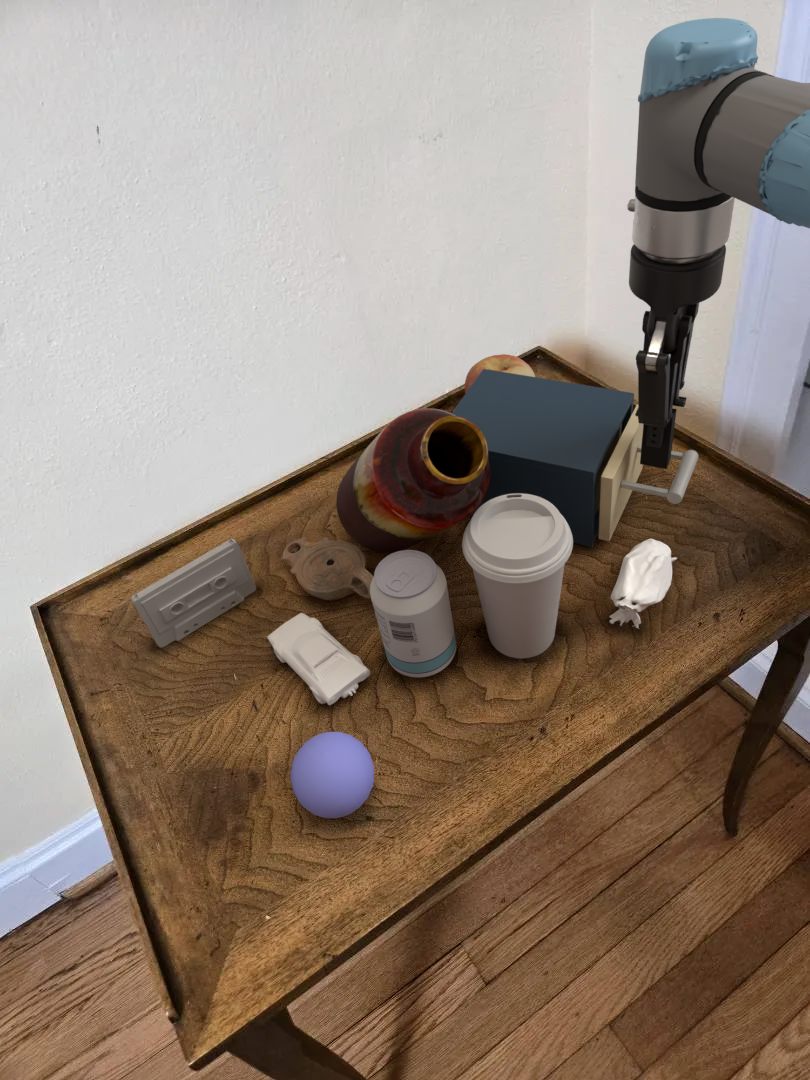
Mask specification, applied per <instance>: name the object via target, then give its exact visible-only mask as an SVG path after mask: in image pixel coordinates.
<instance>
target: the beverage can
mask: <svg viewBox="0 0 810 1080" xmlns="http://www.w3.org/2000/svg"><path fill="white" fill-rule="evenodd" d="M449 595H450V594H449V590H448V582H447V578H446V576H445V572H444V571H443V570H442V568H441V567H440V566H439V565H438V564H437V563H435V561H434V559H433V558H432V557H431V556H430V555H428V554H427V553H425V552H422V551H419V550H416V549H406V550H402V551H398V552H395V553H389V554H388V555H386V556H385V557H384V558H383V559H382V560H380V562H379V563H378V564H377V565H376V567H375V570H374V573H373V579H372V582H371V585H370V596H371V598H370V600H371V603H372V606H373V610H374V614H375V618H376V622H377V625H378V630H379V633H380V637H381V640H382V645H383V648H384V651H385V652H384V653H385V656H386V659H387V662H388V664H389V665H390V667H391V668H392V669H394V670H395V671H396V672H397V673H399V674H401V675H403V676H406V677H410V678H426V677H430V676H431V677H432V676H435V675H436V674H438V673H440V672H442V671H443V670H445V669H446V668H447V667H448V666H449V665H450V664H451V662H452V661H453V659H454V657H455V655H456V651H457V639H456V633H455V626H454V619H453V615H452V607H451V601H450V596H449Z"/></svg>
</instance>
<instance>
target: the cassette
mask: <svg viewBox="0 0 810 1080" xmlns="http://www.w3.org/2000/svg"><path fill="white" fill-rule="evenodd" d="M240 547H241V546H240V544H239V543H238V542H237V541H236V539H235V538H230V539H228V540H226V541H224V542H223V543H221V544H220V545H218V546H215V547H214V548H211V550H209V551H206V553H204V554H202V555H200V556H199V557H197V558H195V559H193V560H192V561H190V562H188V563H187V564H185V565H182V566H181V567H180V568H178V569H176V570H174V571H172V572H171V573H169V574H168V575H166V576H164V577H162V578H161V579H159V580H157V581H155V582H153V583H152V584H150V585H149V586H147V587H145V588H143V589H142V590H140V591H138V592H137V593H135V594H133V595H131V597H130V601H131V602H132V604H133V606H134V608H135V609H136V611H137V613H138V615H139V616H140V618H141V619H142V621H143V623H144V624H145V627H146V628H147V629H148V632H149V633H150V636H151V638H152V639H153V641H154V643H155V644H156V646H157V647H159V648H160V649H162V648H165V647H166V646H168V645H170V644H171V643H173V642H174V641H177V642H179V641H180V640H183V638H185V637H187V636H188V635H191V634H192V633H194V632H195V631H196V630H198V629H200V628H201V627H203V626H205V625H206V624H208V623H210V622H212V621H213V620H214V619H216V618H218V617H219V616H221V615H223V614H225V613H226V612H228V611H229V610H230V609H232V608H235V607H236V606H237V605H239V604H241V603H242V602H244V601H245V598H246V597H249V595H251V594H253V593H254V592H256V591H257V586H256V582H255V581H254V577H253V576H252V574H251V571H250V569H249V566H248V564H247V561H246V559H245V557H244V554H243V552H242V549H241V548H240Z"/></svg>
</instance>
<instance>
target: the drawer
mask: <svg viewBox="0 0 810 1080" xmlns="http://www.w3.org/2000/svg"><path fill="white" fill-rule="evenodd" d="M637 409H638V403H636V405H635V407H634V408H633V413H632V415H631V417H630V419H629V421H628V423H627V425H626V427H625V429H624V431H623V433H622V435H621V427H622V423H621V425H620V427H619V429H618V431H617V433H616V435H615V437H614V439H613V441H612V443H611V445H610V447H609V449H608V451H607V453H606V455H605V457H604V459H603V461H602V463H601V465H600V467H599V469H598V471H597V473H596V498H595V515H596V513H597V511H598V509H599V507H600V514H599V533H598V540H601V541H604V542H605V541H606V542H610V541H611V539H612V537H613V535H614V533H615V530H616V528H617V526H618V523H619V521H620V519H621V517H622V515H623V512H624V510H625V509H626V506H627V504H628V502H629V500H630V497H631V495H632V493H633V491H634V492H639V493H645V494H650V495H652V496H658V497H663V498H666V500H667V501H668V502H669V503H670V504H675V505H676V504H677V505H678V504H680V503H681V502H682V501H683V498H684V496H685V493H686V490H687V488H688V485H689V483H690V480H691V478H692V475H693V473H694V470H695V468H696V465H697V462H698V460H699V456H700V455H699V453H698V452H697V451H696V450H694V449H688V450H686V451H684V452H680V451H675V450H672V451H671V459H672V460H677V461H680V462H679V465H678V467H677V469H676V472H675V475H674V477H673V479H672V482H671V484H670V487H669V489H667V488H662V487H657V486H652V485H649V484H643V483H639V482H638V479H639V477H640V475H641V473H642V470H643V467H644V465H642V464H640V458H641V447H642V436H643V424H641V423H639V422H638V416H635V413H636V411H637ZM671 459H670V460H671Z"/></svg>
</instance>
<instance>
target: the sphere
mask: <svg viewBox="0 0 810 1080" xmlns="http://www.w3.org/2000/svg"><path fill="white" fill-rule="evenodd" d="M374 781H375V765H374V762H373V759H372V755H371V753H370V752H369V750H368V749H367V747H366V746H365V745H364V744H363V743H362V741H360V740H359V739H357V738H356V737H354V736H353V735H351V734H349V733H345V732H341V731H325V732H322V733H319V734H316V735H314V736H313V737H311V738H309V739H308V740H306V741H305V742H304V744H303V745H302V746H301V747H300V748H299V749H298V750H297V752H296V754H295V756H294V759H293V761H292V764H291V770H290V783H291V788H292V791H293V792H292V793H293V794H294V796H295V797H296V799H297V800H298V802H299V803H300V805H301V807H303V808H304V809H306V810H307V811H309V812H310V813H311V814H313V815H314V816H318V817H320V818H324V819H340V818H343V817H347V816H349V815H351V814H352V813H354V812H356V811H358V810H359V808H361V807H362V806H363V805H364V803H365V802H366V801H367V800H368V798H369V796H370V794H371V791H372V788H374V787H373V786H374V783H375V782H374Z"/></svg>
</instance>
